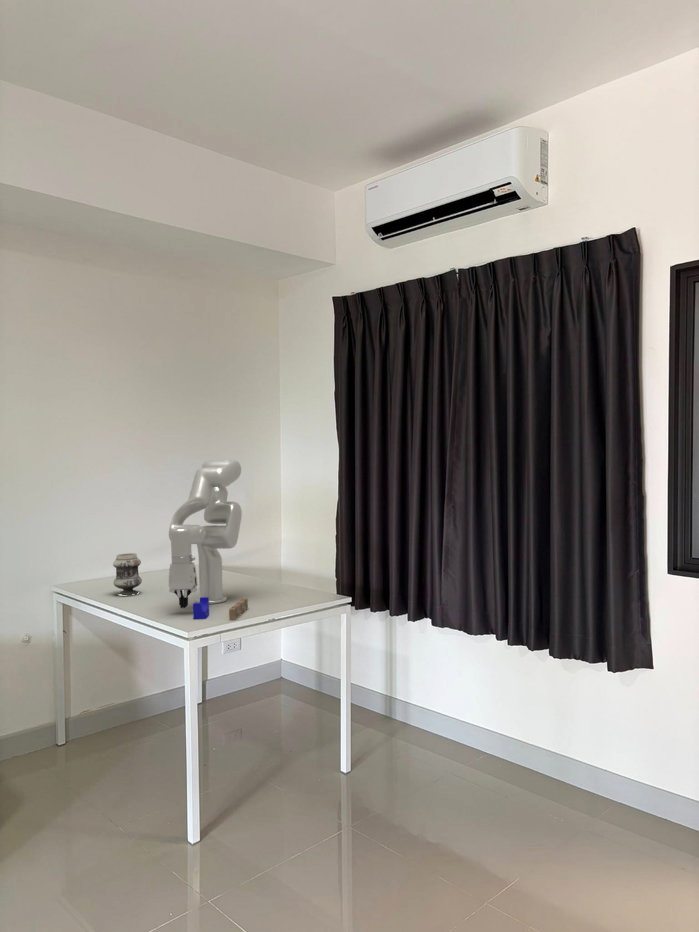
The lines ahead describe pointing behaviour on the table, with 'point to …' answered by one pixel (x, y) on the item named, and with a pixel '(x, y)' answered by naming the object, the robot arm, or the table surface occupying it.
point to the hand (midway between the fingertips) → (183, 607)
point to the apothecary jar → (127, 573)
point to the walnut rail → (238, 608)
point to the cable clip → (201, 608)
